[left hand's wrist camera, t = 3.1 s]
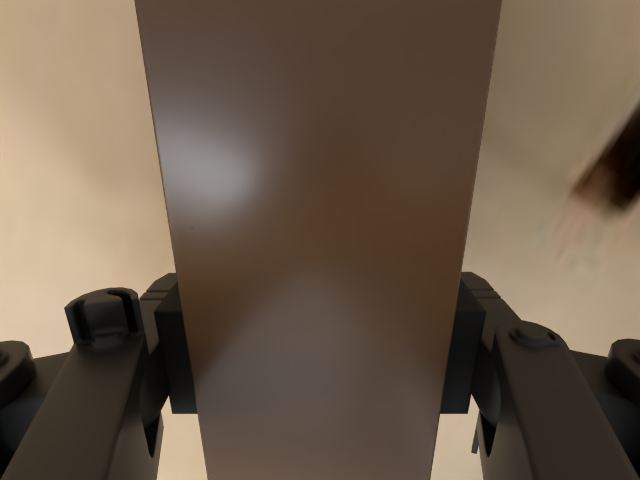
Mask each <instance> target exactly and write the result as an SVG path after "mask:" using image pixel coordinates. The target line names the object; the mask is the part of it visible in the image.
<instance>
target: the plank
mask: <svg viewBox="0 0 640 480" xmlns="http://www.w3.org/2000/svg"><path fill="white" fill-rule="evenodd" d="M501 3H502V0H135V7H136V13H137V20H138V26H139V33H140V39H141V46H142V53H143V59H144V66H145V72H146V79H147V85H148V92H149V98H150V105H151V111H152V118H153V124H154V131H155V138H156V144H157V151H158V157H159V164H160V170H161V177H162V183H163V190H164V196H165V203H166V209H167V216H168V223H169V229H170V236H171V242H172V249H173V255H174V262H175V268H176V275H177V281H178V288H179V295H180V301H181V308H182V314H183V321H184V327H185V334H186V340H187V347H188V353H189V360H190V366H191V373H192V380H193V386H194V393H195V399H196V406H197V412H198V419H199V425H200V432H201V438H202V445H203V451H204V458H205V465H206V471H207V478H208V480H430V477H431V470H432V463H433V457H434V450H435V443H436V437H437V430H438V423H439V417H440V410H441V403H442V397H443V390H444V383H445V377H446V370H447V363H448V357H449V350H450V343H451V337H452V330H453V323H454V317H455V310H456V303H457V297H458V290H459V283H460V277H461V270H462V263H463V257H464V250H465V243H466V237H467V230H468V223H469V217H470V210H471V203H472V197H473V190H474V183H475V177H476V170H477V163H478V157H479V150H480V143H481V137H482V130H483V123H484V117H485V110H486V103H487V97H488V90H489V83H490V77H491V70H492V63H493V57H494V50H495V43H496V37H497V30H498V23H499V17H500V10H501Z"/></svg>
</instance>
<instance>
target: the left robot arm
mask: <svg viewBox="0 0 640 480" xmlns="http://www.w3.org/2000/svg"><path fill="white" fill-rule="evenodd" d="M139 299H140V300H139ZM139 299H138V294H137V293H136V292H135V291H134V290H132V289H128V288H123V287H120V288H106V289H101V290H96V291H93V292H90V293H87V294H84V295H82V296H80V297H78V298H76V299H74V300H73V301H71V302H70V303H69V304H68V305H67V306H66V307H65V308H64V309H65V312H66V316H67V320H68V323H69V327H70V330H71V334H72V337H73V341H74V345H73V347H72V348H71V350H70V352H66V353H62V354H57V355H51V356H46V357H41V358H35V359H33V357H32V354H31V351H30V348H29V346H28V345H27V344H25V343H24V342H21V341H3V342H0V480H157V473H158V465H159V458H160V451H161V443H162V436H163V428H164V427H163V420H162V414H161V409H162V407H163V405H164V404H165V402H166V400H167V398H168V396H169V398H170V404H171V409H172V414H198V412H197V406H196V399H195V393H194V386H193V380H192V373H191V366H190V360H189V353H188V347H187V340H186V334H185V327H184V321H183V314H182V308H181V301H180V295H179V288H178V281H177V275H176V273H168V274H167V275H165V276H163V277H161V278H160V279H158V280H156V281H155V282H154V283H153V284H152V285H151V286H150V287H149V288H148V289H147V291H146V293H144V294H143V295H142V296H141V297H140V298H139ZM471 394H472V396H473V398H474V400H475V402H476V404H477V405H478V407H479V414H478V419H477V425H476V430H475V435H474V440H473V445H472V452H471V453H475V454H477V450H478V446H479V450H480V457H481V464H482V472H483V479H484V480H640V340H636V339H622V340H617V341H616V342H614V343H613V344H612V345H611V348H610V351H609V354H608V357H604V356H598V355H593V354H588V353H582V352H577V351H573V350H569V348H568V346H567V344H566V342H565V341H564V340H563V339H562V338H561V337H560V336H559V335H558V334H556V333H555V332H553V331H552V330H550V329H549V328H546V327H544V326H541V325H539V324H536V323H532V322H528V321H523V320H521V319H520V318H519V317H518V316H517V315H516V314H515V312H514V311H513V310H512V309H511V308H510V307H509V306H508V305H507V303H506V302H505V301H504V300H503V299H501V297H500V296H499V295H498V293H497V292H496V291H494V289H493V288H492V287H491V286H490V284H489V283H488V282H487V281H486V280H485V279H483V278H481V277H479V276H478V275H476V274H474V273H472V272H461V277H460V283H459V290H458V297H457V303H456V310H455V317H454V323H453V330H452V337H451V343H450V350H449V357H448V363H447V370H446V377H445V383H444V390H443V397H442V403H441V410H440V414H468V409H469V404H470V398H471Z"/></svg>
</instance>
